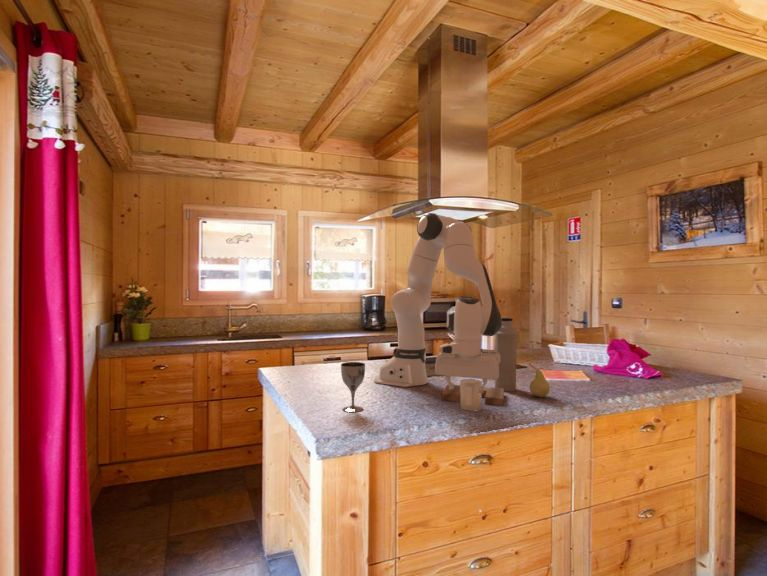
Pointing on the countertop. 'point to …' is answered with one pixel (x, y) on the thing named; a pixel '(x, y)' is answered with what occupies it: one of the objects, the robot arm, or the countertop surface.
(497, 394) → the brown wooden board
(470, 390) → the beige ceramic cup
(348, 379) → the wine glass
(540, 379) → the fruit
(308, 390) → the countertop surface
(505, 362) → the thermos bottle
